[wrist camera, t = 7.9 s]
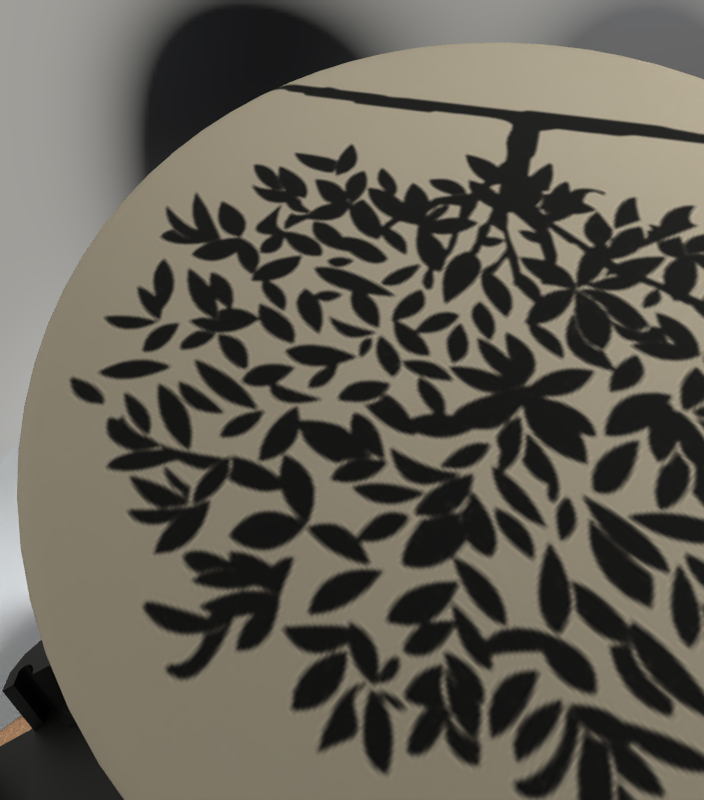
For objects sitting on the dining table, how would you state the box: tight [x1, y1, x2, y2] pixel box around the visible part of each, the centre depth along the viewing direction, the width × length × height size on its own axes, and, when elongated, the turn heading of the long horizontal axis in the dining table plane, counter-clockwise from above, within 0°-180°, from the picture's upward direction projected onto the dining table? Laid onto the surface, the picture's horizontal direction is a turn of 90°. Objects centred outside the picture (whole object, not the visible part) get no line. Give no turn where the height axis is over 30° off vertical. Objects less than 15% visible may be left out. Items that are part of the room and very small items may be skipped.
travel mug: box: [17, 43, 704, 800], centre depth 12 cm, size 8×8×18 cm
